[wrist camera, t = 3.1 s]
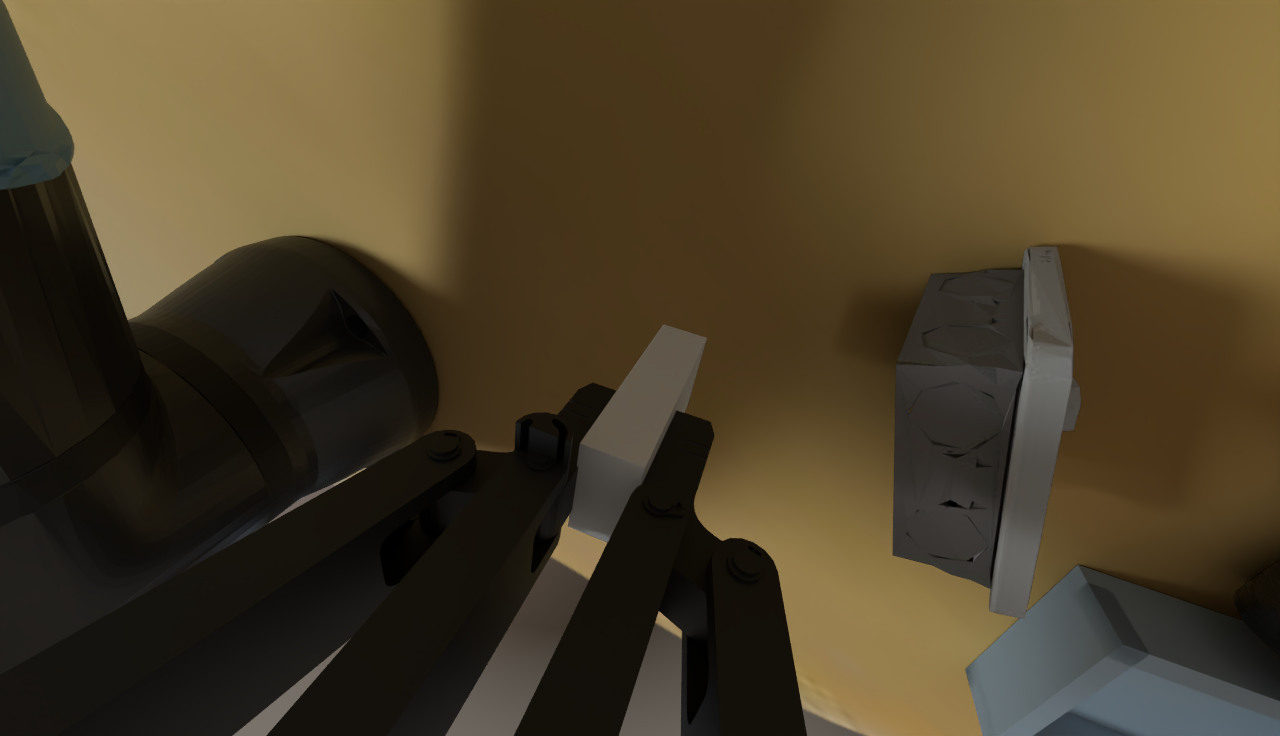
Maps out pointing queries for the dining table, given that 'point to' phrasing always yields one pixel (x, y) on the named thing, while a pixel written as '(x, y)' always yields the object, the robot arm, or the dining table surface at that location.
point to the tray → (1125, 667)
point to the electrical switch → (983, 423)
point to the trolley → (1262, 606)
